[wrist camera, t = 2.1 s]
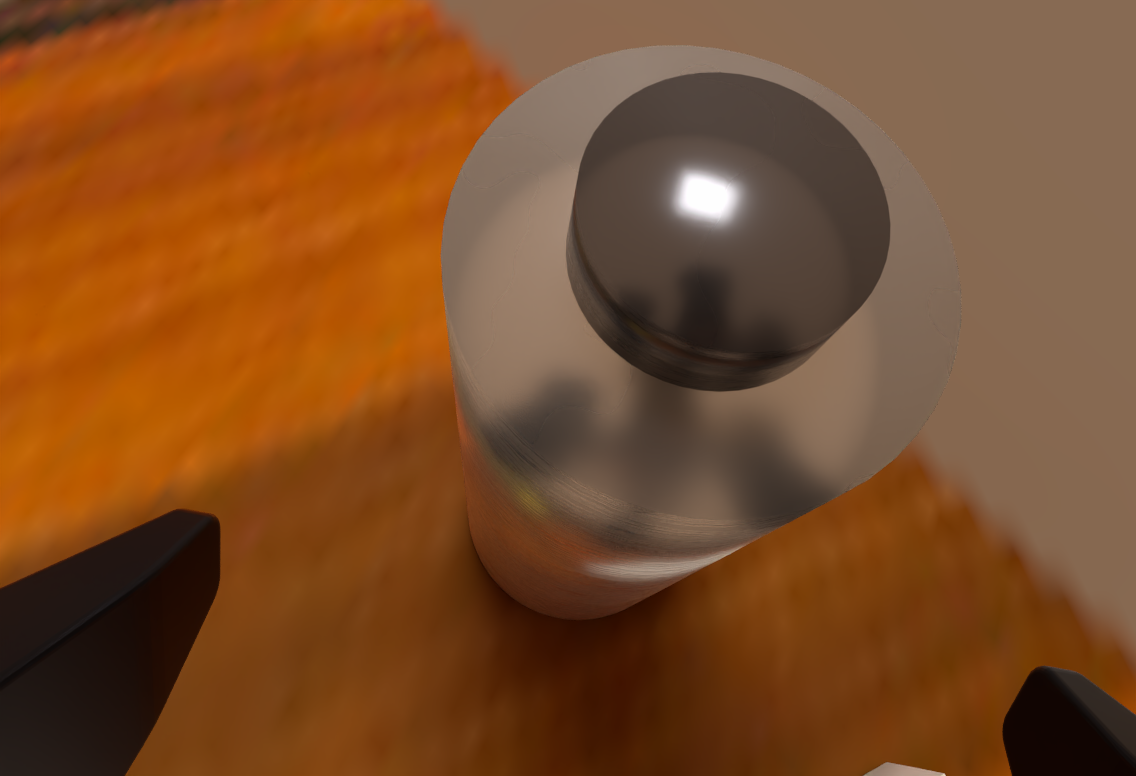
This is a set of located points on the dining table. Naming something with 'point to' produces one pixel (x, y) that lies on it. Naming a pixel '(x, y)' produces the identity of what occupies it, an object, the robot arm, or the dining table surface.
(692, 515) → the metal water bottle
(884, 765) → the serving tray
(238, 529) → the dining table surface
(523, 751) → the dining table surface
